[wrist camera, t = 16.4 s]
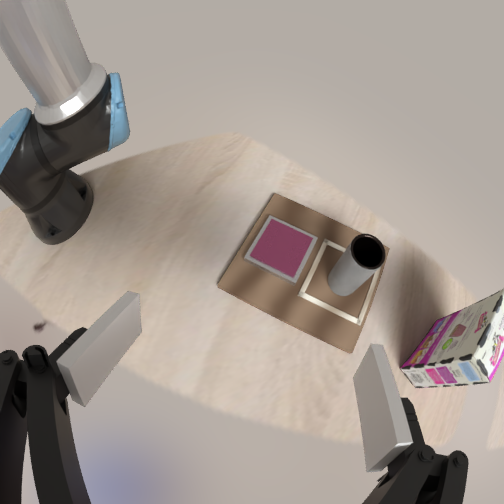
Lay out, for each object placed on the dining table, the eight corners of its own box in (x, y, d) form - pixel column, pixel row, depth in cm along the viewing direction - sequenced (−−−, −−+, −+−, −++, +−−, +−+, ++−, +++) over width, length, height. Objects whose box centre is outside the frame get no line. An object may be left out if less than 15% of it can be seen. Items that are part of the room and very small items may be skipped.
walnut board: (218, 287, 39) (217, 284, 38) (274, 196, 46) (274, 192, 45) (349, 353, 35) (352, 352, 34) (387, 250, 42) (390, 247, 41)
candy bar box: (415, 389, 32) (490, 385, 17) (398, 368, 34) (471, 356, 19) (452, 338, 35) (522, 312, 20) (437, 318, 37) (505, 284, 22)
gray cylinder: (341, 261, 40) (366, 226, 31) (362, 282, 38) (392, 253, 29) (321, 279, 39) (342, 248, 29) (342, 302, 37) (370, 277, 28)
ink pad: (244, 261, 40) (243, 256, 39) (269, 219, 43) (269, 214, 42) (294, 286, 38) (295, 282, 37) (316, 241, 41) (318, 236, 40)
